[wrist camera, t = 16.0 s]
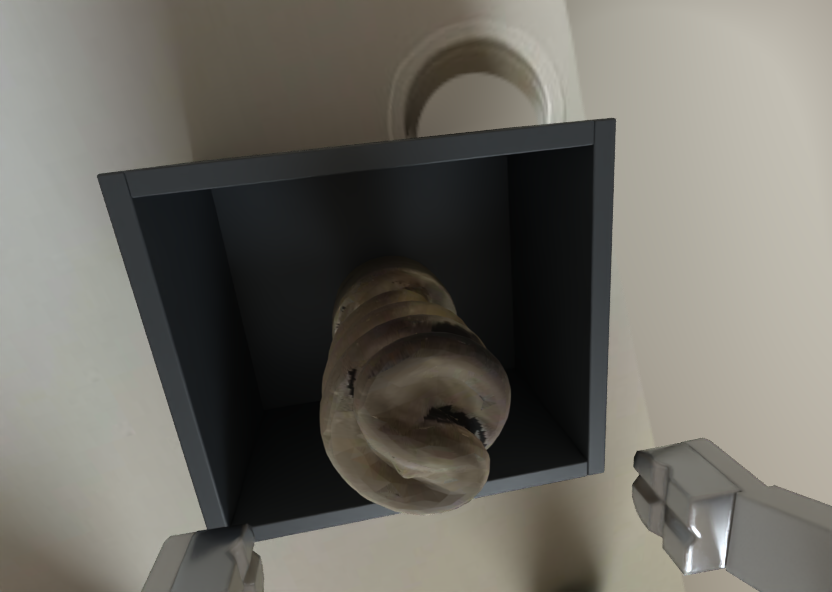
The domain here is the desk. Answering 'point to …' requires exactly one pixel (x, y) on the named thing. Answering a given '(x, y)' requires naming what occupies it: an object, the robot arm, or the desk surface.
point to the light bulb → (409, 391)
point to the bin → (326, 270)
